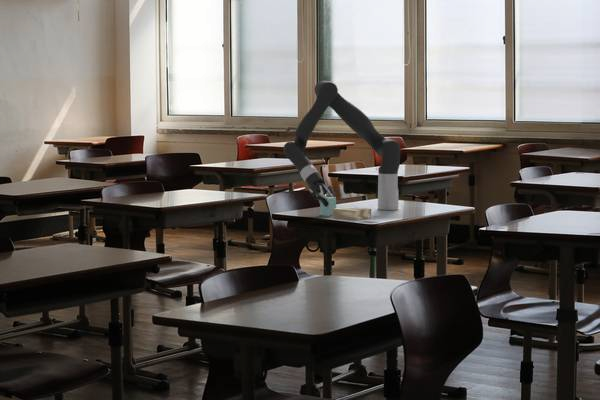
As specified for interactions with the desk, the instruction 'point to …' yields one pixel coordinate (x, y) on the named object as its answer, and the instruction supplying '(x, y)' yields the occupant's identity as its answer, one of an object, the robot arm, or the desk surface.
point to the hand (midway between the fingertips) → (331, 205)
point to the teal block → (329, 209)
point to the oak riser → (352, 213)
